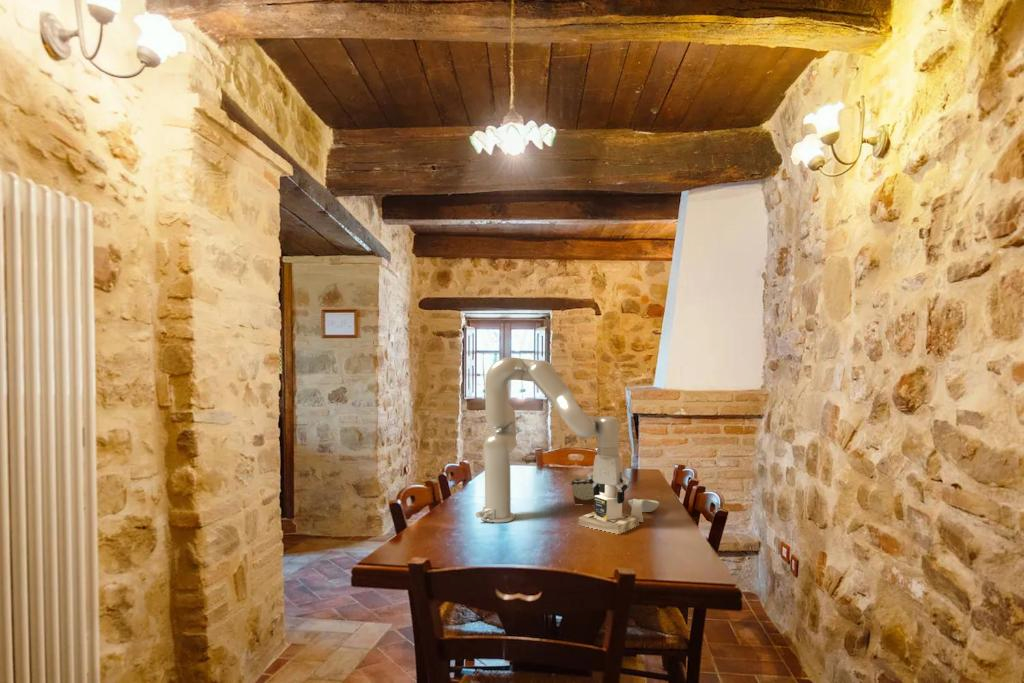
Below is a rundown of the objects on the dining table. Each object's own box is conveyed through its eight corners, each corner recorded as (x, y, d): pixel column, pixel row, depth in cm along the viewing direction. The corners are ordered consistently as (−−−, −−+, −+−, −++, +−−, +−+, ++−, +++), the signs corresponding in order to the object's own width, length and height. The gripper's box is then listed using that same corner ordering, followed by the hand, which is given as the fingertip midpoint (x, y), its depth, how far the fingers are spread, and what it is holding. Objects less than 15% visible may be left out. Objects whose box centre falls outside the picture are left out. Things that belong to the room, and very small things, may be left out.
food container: (600, 502, 227) (600, 477, 228) (601, 505, 221) (601, 480, 222) (570, 501, 229) (570, 477, 229) (570, 505, 222) (570, 480, 223)
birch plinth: (618, 534, 183) (618, 525, 183) (578, 525, 193) (578, 516, 194) (639, 525, 193) (639, 516, 193) (600, 517, 204) (600, 508, 204)
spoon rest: (630, 506, 221) (630, 488, 222) (660, 509, 217) (660, 490, 217) (620, 521, 199) (620, 502, 199) (654, 525, 195) (653, 504, 195)
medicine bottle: (593, 515, 195) (594, 481, 196) (609, 513, 198) (609, 480, 199) (606, 520, 188) (606, 485, 189) (622, 518, 192) (622, 483, 193)
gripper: (581, 450, 197) (582, 498, 197) (624, 455, 186) (624, 506, 185) (593, 448, 203) (593, 495, 202) (635, 453, 192) (635, 502, 191)
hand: (608, 500), depth 194 cm, fingers open, 9 cm apart
